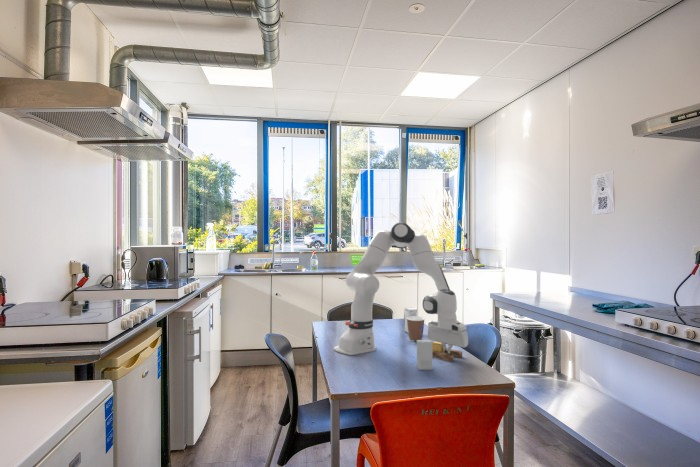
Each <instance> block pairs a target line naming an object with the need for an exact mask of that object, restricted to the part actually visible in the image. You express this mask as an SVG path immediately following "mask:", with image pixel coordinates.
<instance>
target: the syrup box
mask: <svg viewBox="0 0 700 467" xmlns="http://www.w3.org/2000/svg"><path fill="white" fill-rule="evenodd" d="M403 311H404V312H403V331H404V332H405V333H407V334H409V333H408V324H407V317H411V316H418V309H417V308H416V307H404V309H403Z"/></svg>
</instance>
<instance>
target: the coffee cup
mask: <svg viewBox="0 0 700 467" xmlns="http://www.w3.org/2000/svg"><path fill="white" fill-rule="evenodd" d="M425 320H426V319H425V317H422V316H418V315H417V316H411V317H407V324H408V333H407V334H408V338H409V341H412V342H417V340H423V333H424V329H425V328H424V326H425Z"/></svg>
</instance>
